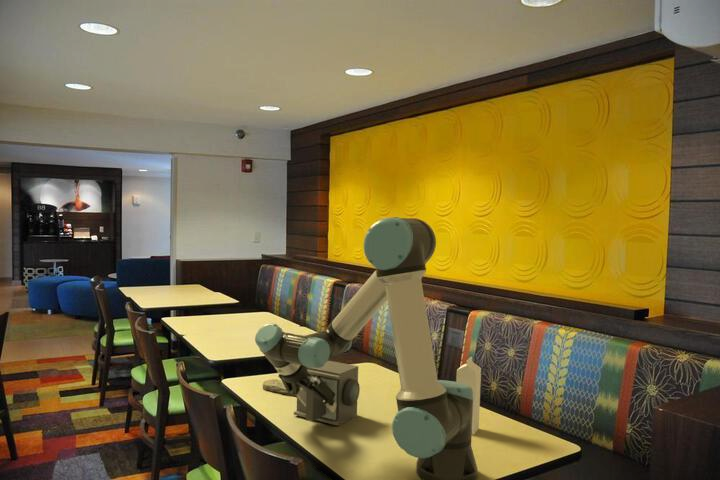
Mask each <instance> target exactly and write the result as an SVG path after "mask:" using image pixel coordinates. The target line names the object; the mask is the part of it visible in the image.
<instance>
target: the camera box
mask: <svg viewBox="0 0 720 480" xmlns="http://www.w3.org/2000/svg"><path fill="white" fill-rule="evenodd" d="M307 371H308V373H309V374H310V375H311V376H313V375H314V376H320V377H324V378H329V379H333V380H337V406H336V419H335V420H333V419H329V418H325V417H320V418H318V419H316V420H315V421H318V422H320V423H321V422H322V423H327V424H329V425H333V426H337V427H339V426H340V425H342V424H345V423H346V422H347V421H350V420H351V419H353V418H356V416H358V399H359V396H360V390H361V387H360V384H359V366H358V365H355V364H354V365H353V364H349V363H343V362H339V361H332V360H328V361H327V362H326V363H325V364H324V366H322V367H320V368H315V367H307ZM310 382H311V381H310ZM309 384H310V383H309ZM308 386H309V385H308ZM300 388H303V390H304V391H305V392H306V393H307V389H306V388H305V387H303V386H300V387H299V389H300ZM294 415H295V416H298V417H301V418H305V419H306V406H304V404H303V403H302V402H301V401H300V399H299V398H298V397H296V410H295V411H293V416H294Z"/></svg>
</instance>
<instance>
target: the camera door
mask: <svg viewBox="0 0 720 480" xmlns="http://www.w3.org/2000/svg"><path fill="white" fill-rule="evenodd" d="M312 377H314V378H316V376H314V375H313V376H312ZM320 378H321V379H322V381H323V382H324V383H325V384H326V385H327V386H328V387H329V388H330V389H331V390H332V391H333V392H334V393H335V397H334V399H333V400H334V401H335V403H336V404H337V380H333V379H329V378H324V377H320ZM320 417H325V418H329V419H333V420H335V419H336V408H335V410H334V413H331V412H330V410H329V409H328V408H327V406H326V405H325V404H324V402H323V399H322V398H320V397H319V396H318V395H317V394H315V393H314V392H313V391H311V390H307V398H306V418H305V420H306V421H310V422H314V421H317V420H316V419H318V418H320Z"/></svg>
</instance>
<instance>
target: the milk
mask: <svg viewBox="0 0 720 480" xmlns="http://www.w3.org/2000/svg"><path fill="white" fill-rule="evenodd" d="M481 375H482V367H480V366H479V365H477V364H476V363H475V362H474V361H473V356H470V357H469V358H468V359H467V360H466V363H464V364H462V365H461V366H460V367H459V368H457V369H456V382H459V383H463V384H466V385H468V386H470V387H471V388H472V390H473V399H474V401H473V414H472V436H474V435H475V434H476V433H477V431H478V430H479V429H480V428H479V427H480V407H481V405H480V404H481V383H482V380H481V379H482V376H481Z"/></svg>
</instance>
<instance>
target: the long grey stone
mask: <svg viewBox="0 0 720 480" xmlns="http://www.w3.org/2000/svg"><path fill="white" fill-rule="evenodd" d="M262 390H264V391H268V392H273V393H277V394H281V395H286V394H287V396H291V395H292V396H291V397H296V398H297V396H296V395H295V394H293V393H292V391H291V392H288V391H287V390H286V388H285V386H284V384H283V382H282V380H281V379H277V378H276V379H273V378H272V379H267V380H264V381H263V383H262Z"/></svg>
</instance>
